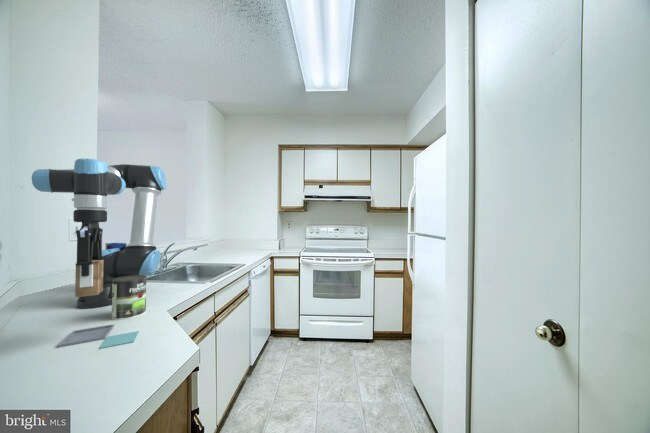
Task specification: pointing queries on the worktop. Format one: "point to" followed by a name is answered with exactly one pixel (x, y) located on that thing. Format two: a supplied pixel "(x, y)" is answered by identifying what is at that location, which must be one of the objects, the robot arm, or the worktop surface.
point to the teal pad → (119, 339)
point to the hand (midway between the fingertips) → (89, 284)
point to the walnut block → (97, 281)
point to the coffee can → (128, 297)
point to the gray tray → (86, 335)
